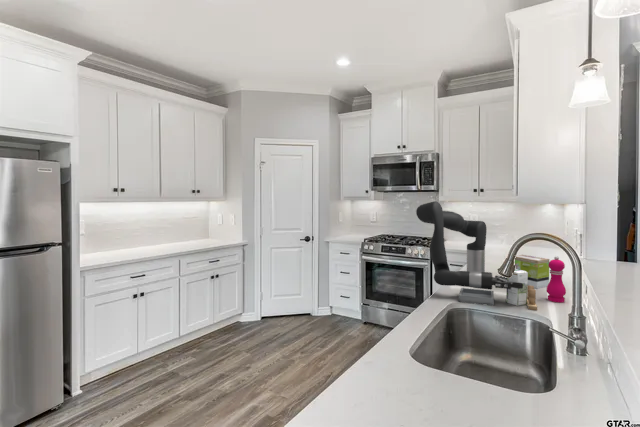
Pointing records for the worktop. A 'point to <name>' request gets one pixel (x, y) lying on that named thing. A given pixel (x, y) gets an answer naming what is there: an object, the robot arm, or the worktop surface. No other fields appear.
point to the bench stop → (531, 298)
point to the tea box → (534, 269)
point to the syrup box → (518, 294)
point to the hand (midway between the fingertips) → (522, 283)
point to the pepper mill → (556, 281)
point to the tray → (476, 296)
